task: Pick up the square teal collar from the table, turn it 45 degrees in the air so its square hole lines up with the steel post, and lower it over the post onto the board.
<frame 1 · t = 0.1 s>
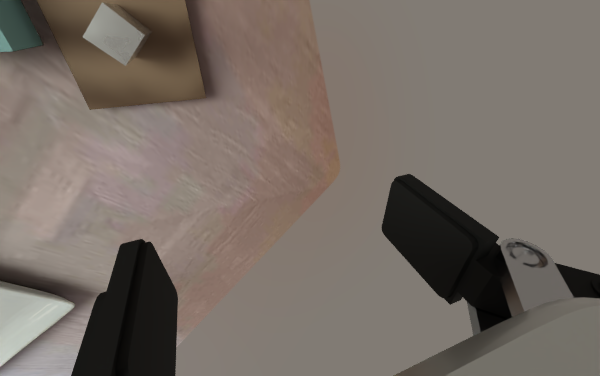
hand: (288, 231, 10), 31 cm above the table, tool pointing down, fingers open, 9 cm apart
post board: (130, 31, 28), on the table
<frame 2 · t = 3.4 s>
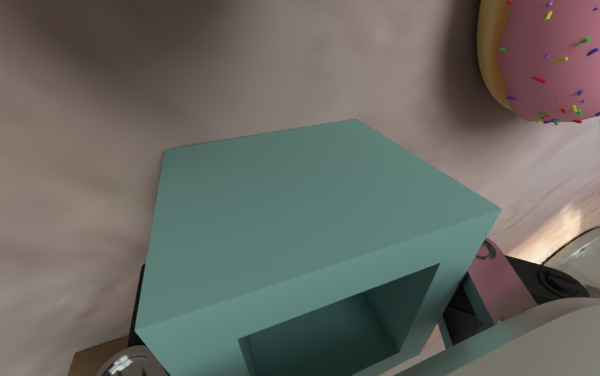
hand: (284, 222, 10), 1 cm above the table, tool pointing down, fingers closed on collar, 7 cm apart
collar: (277, 208, 11), on the table, touching gripper
post board: (255, 352, 17), on the table
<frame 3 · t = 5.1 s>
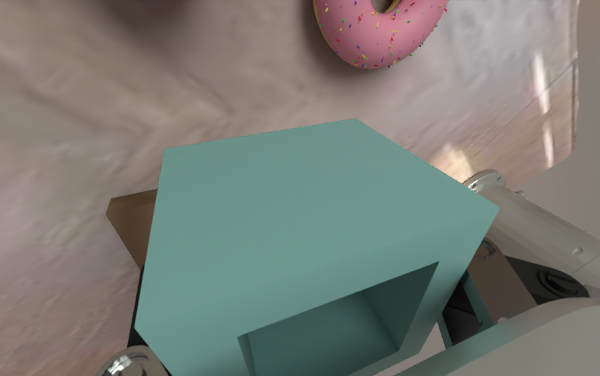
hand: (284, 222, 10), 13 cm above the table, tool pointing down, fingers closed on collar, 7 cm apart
collar: (277, 207, 11), point 12 cm above the table, touching gripper
post board: (221, 230, 26), on the table
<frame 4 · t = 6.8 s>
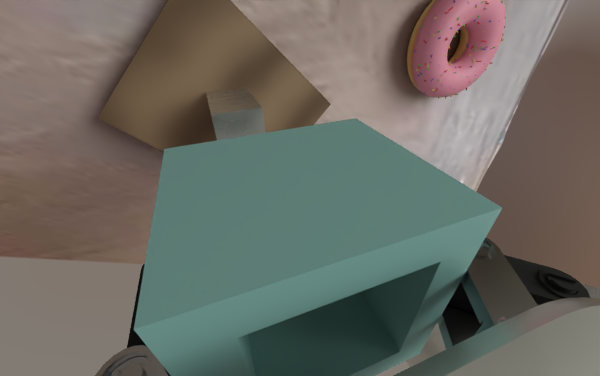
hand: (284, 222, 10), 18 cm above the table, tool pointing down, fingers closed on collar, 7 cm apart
doughnut: (438, 43, 29), on the table
collar: (277, 207, 11), point 17 cm above the table, touching gripper
post board: (227, 103, 24), on the table
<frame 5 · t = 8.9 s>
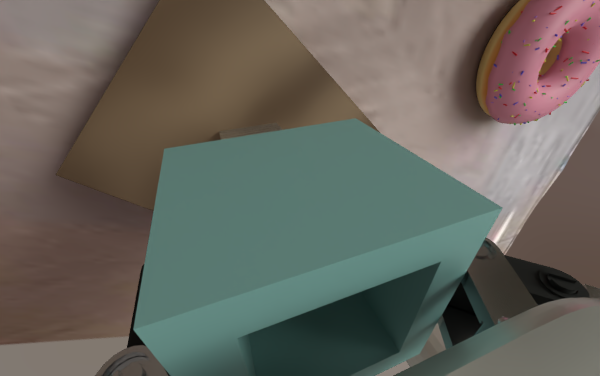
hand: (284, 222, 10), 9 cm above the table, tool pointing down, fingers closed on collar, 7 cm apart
doughnut: (515, 53, 22), on the table
collar: (277, 207, 11), point 8 cm above the table, touching gripper
post board: (246, 140, 17), on the table
when the fingers open (4 cm above the table, at t = 10.4 s): collar stays where it is, resting on post board.
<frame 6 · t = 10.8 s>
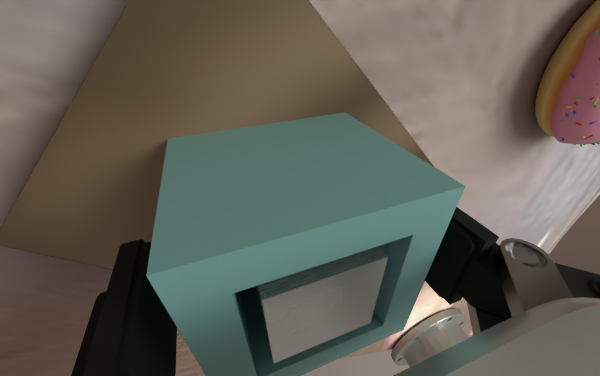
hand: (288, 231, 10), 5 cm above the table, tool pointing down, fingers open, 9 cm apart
doughnut: (582, 59, 18), on the table
collar: (272, 196, 12), point 2 cm above the table, touching post board
post board: (262, 175, 13), on the table
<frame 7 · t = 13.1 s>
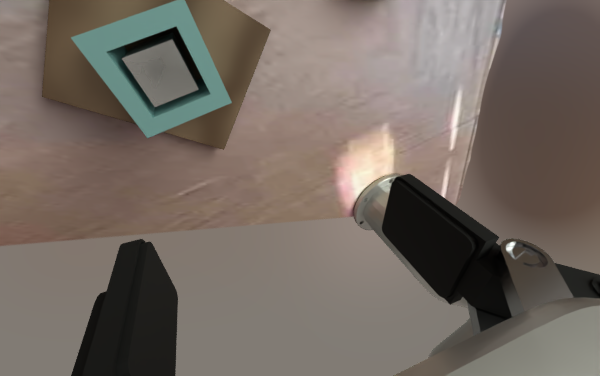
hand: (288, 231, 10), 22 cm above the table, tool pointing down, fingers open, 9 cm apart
collar: (165, 60, 22), point 2 cm above the table, touching post board
post board: (165, 57, 23), on the table
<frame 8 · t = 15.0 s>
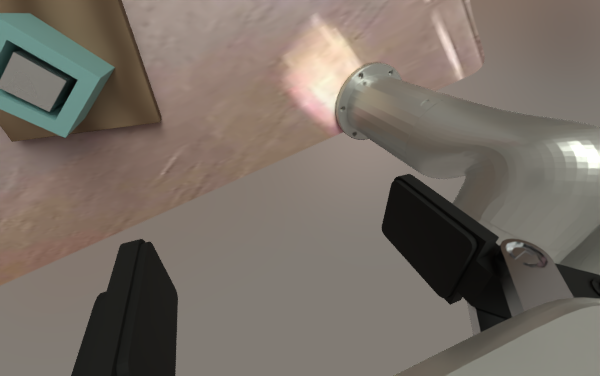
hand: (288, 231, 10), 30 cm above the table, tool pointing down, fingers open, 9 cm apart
collar: (60, 71, 26), point 2 cm above the table, touching post board
post board: (67, 68, 28), on the table
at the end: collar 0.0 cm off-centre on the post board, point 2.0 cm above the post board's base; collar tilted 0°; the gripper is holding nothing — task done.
